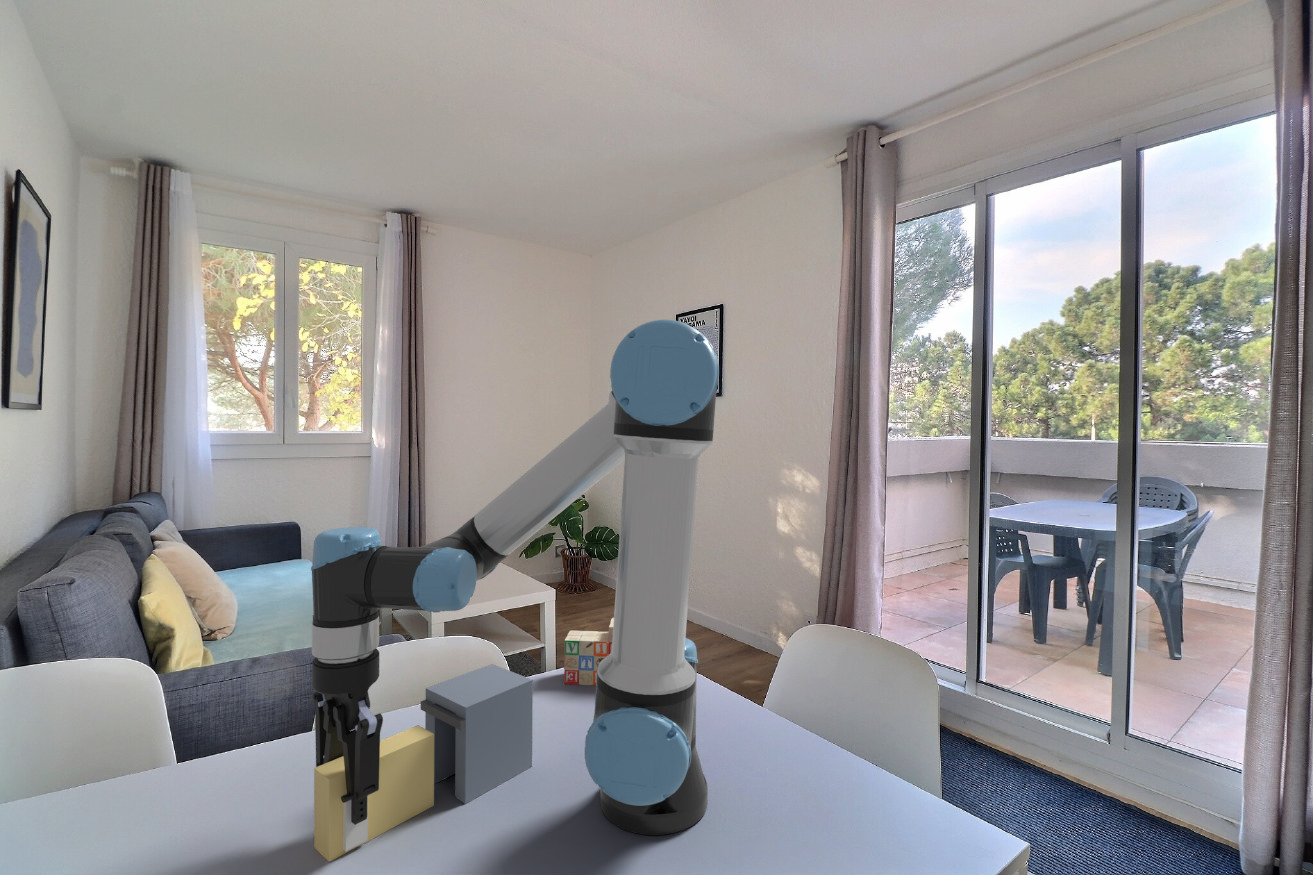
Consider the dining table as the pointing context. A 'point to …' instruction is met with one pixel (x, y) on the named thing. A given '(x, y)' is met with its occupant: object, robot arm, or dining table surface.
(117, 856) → the dining table surface
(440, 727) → the dispenser
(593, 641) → the stack of blocks
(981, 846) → the dining table surface
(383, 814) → the upright yellow slab
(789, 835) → the dining table surface
